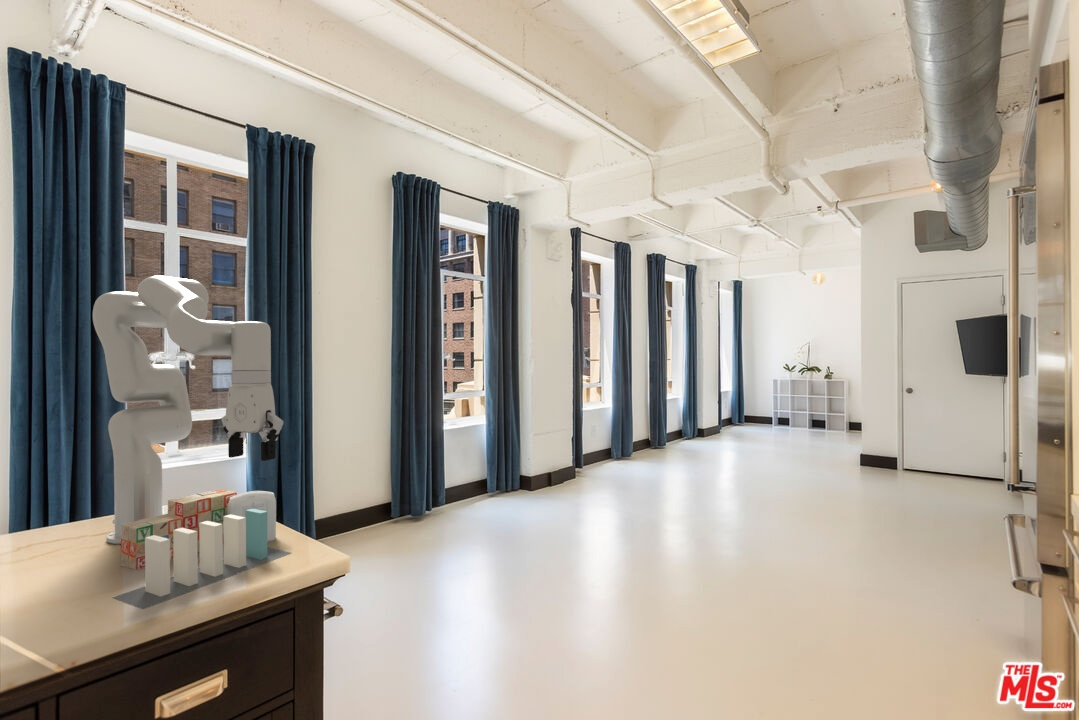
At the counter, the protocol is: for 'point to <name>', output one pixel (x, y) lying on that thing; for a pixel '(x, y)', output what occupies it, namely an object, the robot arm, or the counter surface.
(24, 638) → the counter surface
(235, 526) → the domino
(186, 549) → the domino
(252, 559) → the domino mat
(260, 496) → the white rounded slab
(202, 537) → the domino
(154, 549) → the domino
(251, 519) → the domino
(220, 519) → the stack of blocks
